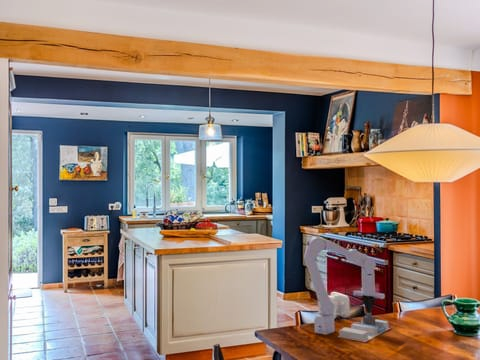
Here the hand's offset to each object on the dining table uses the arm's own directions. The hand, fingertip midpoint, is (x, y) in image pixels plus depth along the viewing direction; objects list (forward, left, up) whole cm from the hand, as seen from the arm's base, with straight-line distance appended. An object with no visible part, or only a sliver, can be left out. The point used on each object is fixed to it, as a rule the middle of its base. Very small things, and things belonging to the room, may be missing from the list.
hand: (369, 312), depth 222 cm
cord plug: (0, 0, -8) cm, 8 cm away
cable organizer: (+15, +27, -9) cm, 32 cm away
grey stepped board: (-5, 0, -9) cm, 10 cm away
